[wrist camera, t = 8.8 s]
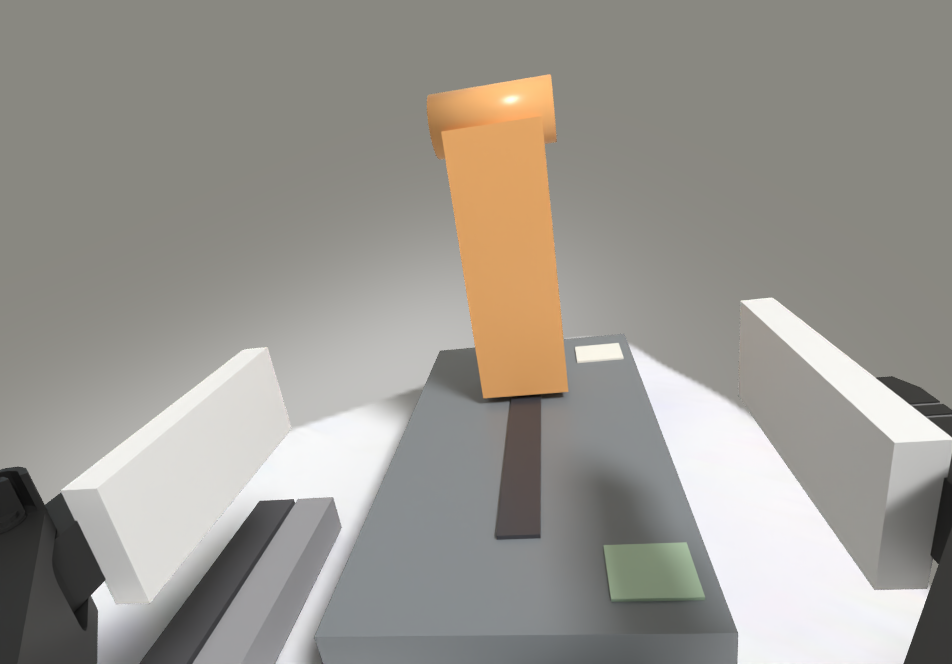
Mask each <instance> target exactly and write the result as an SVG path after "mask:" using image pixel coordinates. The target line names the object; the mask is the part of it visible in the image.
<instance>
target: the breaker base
mask: <svg viewBox="0 0 952 664" xmlns="http://www.w3.org/2000/svg"><path fill="white" fill-rule="evenodd" d="M563 340H564V350H565V361H566V371H567V381H568V392H559V393H547V394H534V395H521V396H508V397H495V398H483V393H482V387H481V381H480V374H479V368H478V362H477V355H476V349H475V348H466V349H456V350H444V351H440V352H439V354H438V357H437V359H436V361H435V364H434V366H433V368H432V370H431V373H430V375H429V377H428V380H427V382H426V384H425V386H424V389H423V391H422V393H421V395H420V398H419V400H418V402H417V404H416V407H415V409H414V411H413V414H412V416H411V418H410V420H409V423H408V425H407V427H406V429H405V432H404V434H403V436H402V439H401V441H400V443H399V445H398V448H397V450H396V452H395V454H394V457H393V459H392V461H391V464H390V466H389V468H388V470H387V473H386V475H385V477H384V479H383V482H382V484H381V486H380V488H379V491H378V493H377V495H376V498H375V500H374V502H373V504H372V507H371V509H370V511H369V513H368V516H367V518H366V520H365V523H364V525H363V527H362V529H361V532H360V534H359V536H358V538H357V541H356V543H355V545H354V548H353V550H352V552H351V554H350V557H349V559H348V561H347V563H346V566H345V568H344V570H343V573H342V575H341V577H340V579H339V582H338V584H337V586H336V588H335V591H334V593H333V595H332V598H331V600H330V602H329V604H328V607H327V609H326V611H325V613H324V616H323V618H322V620H321V623H320V625H319V627H318V629H317V632H316V634H315V636H314V638H315V641H316V644H317V647H318V650H319V653H320V656H321V659H322V662H323V664H737V655H738V632H737V629H736V626H735V624H734V621H733V619H732V616H731V613H730V611H729V608H728V605H727V603H726V600H725V598H724V595H723V592H722V590H721V587H720V584H719V582H718V579H717V577H716V574H715V571H714V569H713V566H712V563H711V561H710V558H709V556H708V553H707V550H706V548H705V545H704V542H703V540H702V537H701V534H700V532H699V529H698V527H697V524H696V521H695V519H694V516H693V513H692V511H691V508H690V506H689V503H688V500H687V498H686V495H685V492H684V490H683V487H682V485H681V482H680V479H679V477H678V474H677V471H676V469H675V466H674V464H673V461H672V458H671V456H670V453H669V450H668V448H667V445H666V442H665V440H664V437H663V435H662V432H661V429H660V427H659V424H658V421H657V419H656V416H655V414H654V411H653V408H652V406H651V403H650V400H649V398H648V395H647V393H646V390H645V387H644V385H643V382H642V379H641V377H640V374H639V372H638V369H637V366H636V364H635V361H634V358H633V356H632V353H631V351H630V348H629V345H628V343H627V340H626V338H625V335H624V334H618V335H607V336H596V337H585V338H574V339H563Z"/></svg>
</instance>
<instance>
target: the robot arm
mask: <svg viewBox="0 0 952 664" xmlns="http://www.w3.org/2000/svg"><path fill="white" fill-rule="evenodd" d="M740 303H741V304H740V346H739V388H738V390H739V391H738V396H739V398H740V399H741V401H742V402H743V404H744V405H745V407H746V408H747V409H748V411H749V412H750V414H751V415H752V416H753V418H754V419H755V421H756V422H757V424H758V425H759V426H760V428H761V429H762V431H763V432H764V434H765V435H766V436H767V438H768V439H769V441H770V442H771V443H772V445H773V446H774V448H775V449H776V451H777V452H778V453H779V455H780V456H781V458H782V459H783V461H784V462H785V463H786V465H787V466H788V468H789V469H790V471H791V472H792V473H793V475H794V476H795V478H796V479H797V480H798V482H799V483H800V485H801V486H802V488H803V489H804V490H805V492H806V493H807V495H808V496H809V498H810V499H811V500H812V502H813V503H814V505H815V506H816V507H817V509H818V510H819V512H820V513H821V515H822V516H823V517H824V519H825V520H826V522H827V523H828V525H829V526H830V527H831V529H832V530H833V532H834V533H835V534H836V536H837V537H838V539H839V540H840V542H841V543H842V544H843V546H844V547H845V549H846V550H847V552H848V553H849V554H850V556H851V557H852V559H853V560H854V561H855V563H856V564H857V566H858V567H859V569H860V570H861V571H862V573H863V574H864V576H865V577H866V579H867V580H868V581H869V583H870V584H871V586H872V587H873V588H874V590H892V589H927V588H928V583H929V577H930V571H931V566H932V560H933V559H934V560H935V561H936V562H937V563H938V564H939V565H938V568H937V571H936V574H935V577H934V579H933V583H932V585H931V588H930V591H929V594H928V596H927V599H926V602H925V605H924V608H923V610H922V613H921V616H920V619H919V622H918V625H917V627H916V630H915V633H914V636H913V639H912V642H911V644H910V647H909V650H908V653H907V656H906V658H905V661H904V664H952V410H951V409H950V408H948V407H947V406H946V405H944V404H940V401H938V400H937V399H936V398H934V397H933V396H931V395H930V394H928V393H927V392H926V391H924V390H923V389H921V388H920V387H917V386H915V385H912V384H910V383H907V382H905V381H902V380H900V379H897V378H895V377H892V376H891V377H879V378H875V377H874V376H872V375H871V374H870V373H869V372H867V371H866V370H865V369H863V368H862V367H861V366H860V365H858V364H857V363H855V362H854V361H853V360H852V359H850V358H849V357H848V356H847V355H845V354H844V353H843V352H841V351H840V350H839V349H838V348H836V347H835V346H834V345H832V344H831V343H830V342H829V341H827V340H826V339H825V338H824V337H822V336H821V335H820V334H818V333H817V332H816V331H815V330H813V329H812V328H811V327H810V326H808V325H807V324H806V323H804V322H803V321H802V320H801V319H799V318H798V317H797V316H795V315H794V314H793V313H791V312H790V311H789V310H788V309H786V308H785V307H784V306H783V305H781V304H780V303H779V302H777V301H776V300H775V299H774V298H763V299H753V300H743V301H741V302H740ZM291 429H292V428H291V424H290V421H289V418H288V415H287V411H286V408H285V404H284V401H283V398H282V394H281V391H280V388H279V384H278V381H277V378H276V374H275V371H274V368H273V364H272V361H271V358H270V354H269V351H268V348H267V347H263V348H253V349H243V350H242V351H241V352H239V353H238V354H237V355H236V356H234V357H233V358H232V359H230V360H229V361H228V362H227V363H225V364H224V365H223V366H221V367H220V368H219V369H217V370H216V371H215V372H214V373H212V374H211V375H210V376H208V377H207V378H206V379H205V380H203V381H202V382H201V383H199V384H198V385H197V386H195V387H194V388H193V389H192V390H190V391H189V392H188V393H186V394H185V395H184V396H182V397H181V398H180V399H178V400H177V401H176V402H175V403H174V404H172V405H171V406H169V407H168V408H167V409H166V410H164V411H163V412H162V413H160V414H159V415H158V416H156V417H155V418H154V419H153V420H151V421H150V422H149V423H147V424H146V425H145V426H143V427H142V428H141V429H140V430H138V431H137V432H136V433H135V434H133V435H132V436H130V437H129V438H128V439H127V440H125V441H124V442H123V443H122V444H120V445H119V446H117V447H116V448H115V449H114V450H112V451H111V452H110V453H108V454H107V455H106V456H104V458H102V459H101V460H99V461H98V462H97V463H96V464H94V465H93V466H92V467H90V468H89V469H88V470H86V471H85V472H84V473H83V474H81V475H80V476H79V477H77V478H76V479H75V480H73V481H72V482H71V483H69V484H68V485H67V486H66V487H64V488H63V489H62V490H61V493H60V494H58V495H57V496H56V497H55V498H53V499H52V500H51V501H49V502H48V503H47V504H46V505H44V503H43V501H42V499H41V497H40V495H39V493H38V491H37V489H36V487H35V485H34V483H33V481H32V479H31V477H30V475H29V473H28V471H27V469H26V468H23V467H13V468H5V469H2V470H0V664H97V631H98V610H97V608H96V605H95V603H94V601H93V599H92V597H91V595H92V593H93V592H94V591H95V590H96V589H97V588H98V587H99V586H100V585H101V584H102V583H103V582H104V581H105V583H106V585H107V587H108V589H109V591H110V593H111V595H112V597H113V599H114V601H115V603H116V604H150V603H151V602H152V600H153V599H154V598H155V597H156V595H157V594H158V593H159V592H160V590H161V589H162V588H163V587H164V586H165V584H166V583H167V582H168V581H169V579H170V578H171V577H172V576H173V574H174V573H175V572H176V571H177V569H178V568H179V567H180V566H181V565H182V563H183V562H184V561H185V560H186V558H187V557H188V556H189V555H190V553H191V552H192V551H193V550H194V549H195V547H196V546H197V545H198V544H199V542H200V541H201V540H202V539H203V537H204V536H205V535H206V534H207V532H208V531H209V530H210V529H211V528H212V526H213V525H214V524H215V523H216V521H217V520H218V519H219V518H220V516H221V515H222V514H223V513H224V512H225V510H226V509H227V508H228V507H229V505H230V504H231V503H232V502H233V500H234V499H235V498H236V497H237V495H238V494H239V493H240V492H241V491H242V489H243V488H244V487H245V486H246V484H247V483H248V482H249V481H250V479H251V478H252V477H253V476H254V474H255V473H256V472H257V471H258V470H259V468H260V467H261V466H262V465H263V463H264V462H265V461H266V460H267V458H268V457H269V456H270V455H271V454H272V452H273V451H274V450H275V449H276V447H277V446H278V445H279V444H280V442H281V441H282V440H283V439H284V437H285V436H286V435H287V434H288V433H289V431H290V430H291Z"/></svg>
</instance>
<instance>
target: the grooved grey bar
mask: <svg viewBox="0 0 952 664" xmlns="http://www.w3.org/2000/svg"><path fill="white" fill-rule="evenodd" d="M341 528H342V527H341V523H340V520H339V516H338V513H337V509H336V506H335V502H334V499H333V497H329V498H309V499H298V500H297V502H296V503H295V502H294V499H290V500H270V501H259V503H258V504H257V505H256V507H255V508H254V509H253V511H252V512H251V513H250V515H249V516H248V517H247V519H246V520H245V521H244V523H243V524H242V526H241V527H240V528H239V530H238V531H237V532H236V534H235V535H234V536H233V538H232V539H231V540H230V542H229V543H228V544H227V546H226V547H225V549H224V550H223V551H222V553H221V554H220V555H219V557H218V558H217V559H216V561H215V562H214V563H213V565H212V566H211V567H210V569H209V570H208V572H207V573H206V574H205V576H204V577H203V578H202V580H201V581H200V582H199V584H198V585H197V586H196V588H195V589H194V590H193V592H192V593H191V595H190V596H189V597H188V599H187V600H186V601H185V603H184V604H183V605H182V607H181V608H180V609H179V611H178V612H177V613H176V615H175V616H174V618H173V619H172V620H171V622H170V623H169V624H168V626H167V627H166V628H165V630H164V631H163V632H162V634H161V635H160V636H159V638H158V639H157V641H156V642H155V643H154V645H153V646H152V647H151V649H150V650H149V651H148V653H147V654H146V655H145V657H144V658H143V659H142V661H141V662H140V664H275V662H276V660H277V658H278V656H279V654H280V652H281V650H282V648H283V646H284V644H285V642H286V640H287V638H288V636H289V634H290V632H291V630H292V628H293V626H294V624H295V622H296V619H297V617H298V615H299V613H300V611H301V609H302V607H303V605H304V603H305V601H306V599H307V597H308V595H309V593H310V591H311V589H312V587H313V585H314V583H315V581H316V579H317V577H318V575H319V573H320V571H321V569H322V567H323V564H324V562H325V560H326V558H327V556H328V554H329V552H330V550H331V548H332V546H333V544H334V542H335V540H336V538H337V536H338V534H339V532H340V530H341Z"/></svg>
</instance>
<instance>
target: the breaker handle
mask: <svg viewBox="0 0 952 664" xmlns="http://www.w3.org/2000/svg"><path fill="white" fill-rule="evenodd" d="M427 116H428V124H429V130H430V136H431V140H432V144H433V147H434V151H435V153H436V156H437V158H438V159H446V165H447V172H448V177H449V184H450V191H451V197H452V203H453V209H454V216H455V222H456V228H457V235H458V241H459V248H460V253H461V260H462V267H463V273H464V279H465V286H466V292H467V298H468V305H469V311H470V317H471V323H472V330H473V336H474V342H475V349H476V355H477V362H478V368H479V374H480V381H481V387H482V393H483V398H495V397H508V396H521V395H534V394H547V393H559V392H568V381H567V371H566V361H565V350H564V340H563V330H562V319H561V309H560V299H559V289H558V278H557V269H556V257H555V247H554V237H553V227H552V216H551V206H550V197H549V185H548V176H547V165H546V156H545V155H546V154H545V144H547V143H554V142H557V139H556V125H555V113H554V102H553V91H552V83H551V75H544V76H538V77H532V78H526V79H520V80H514V81H508V82H502V83H496V84H490V85H484V86H478V87H472V88H467V89H460V90H454V91H448V92H442V93H436V94H431V95H428V98H427Z"/></svg>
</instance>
